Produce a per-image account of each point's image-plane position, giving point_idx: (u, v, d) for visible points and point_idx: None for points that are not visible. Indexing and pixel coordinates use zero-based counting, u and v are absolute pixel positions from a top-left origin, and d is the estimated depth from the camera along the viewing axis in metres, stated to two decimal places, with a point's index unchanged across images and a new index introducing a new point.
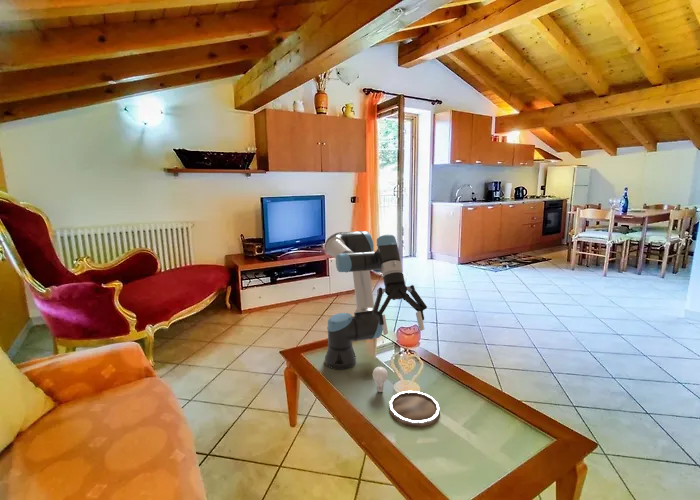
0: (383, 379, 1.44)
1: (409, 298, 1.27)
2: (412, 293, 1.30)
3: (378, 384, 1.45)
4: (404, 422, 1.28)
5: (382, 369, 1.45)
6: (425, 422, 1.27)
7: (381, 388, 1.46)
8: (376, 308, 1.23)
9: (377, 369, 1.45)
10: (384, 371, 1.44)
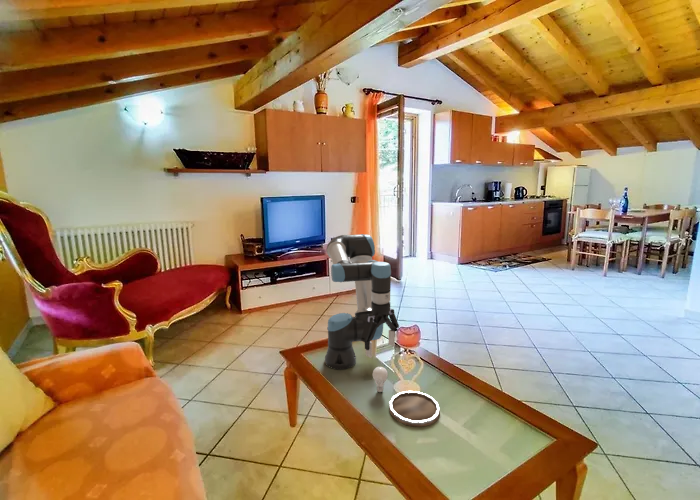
0: (383, 379, 1.44)
1: (389, 322, 1.43)
2: (391, 315, 1.45)
3: (378, 384, 1.45)
4: (404, 422, 1.28)
5: (382, 369, 1.45)
6: (425, 422, 1.27)
7: (381, 388, 1.46)
8: (367, 338, 1.35)
9: (377, 369, 1.45)
10: (384, 371, 1.44)
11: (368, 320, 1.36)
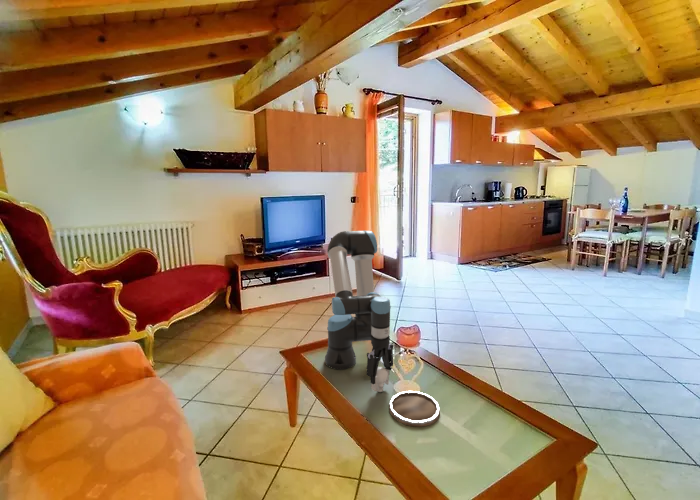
0: (383, 379, 1.44)
1: (386, 357, 1.46)
2: (389, 350, 1.48)
3: (378, 384, 1.45)
4: (404, 422, 1.28)
5: (382, 369, 1.45)
6: (425, 422, 1.27)
7: (381, 388, 1.46)
8: (371, 373, 1.41)
9: (377, 369, 1.45)
10: (384, 371, 1.44)
11: (369, 357, 1.40)
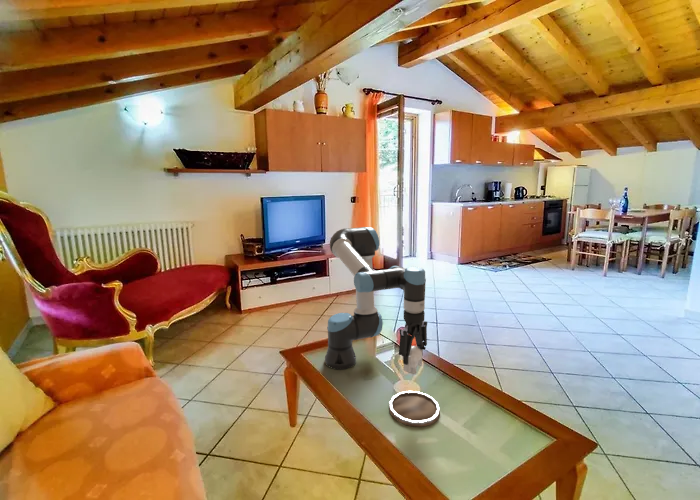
0: (417, 359, 1.29)
1: (420, 335, 1.31)
2: (422, 328, 1.33)
3: (411, 365, 1.31)
4: (404, 422, 1.28)
5: (416, 348, 1.31)
6: (425, 422, 1.27)
7: (414, 369, 1.32)
8: (405, 352, 1.26)
9: None
10: (418, 350, 1.30)
11: (402, 334, 1.26)
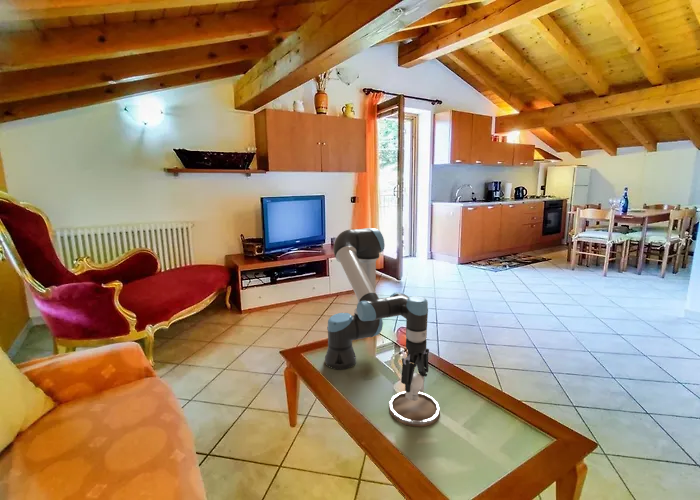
0: (419, 387, 1.31)
1: (422, 363, 1.33)
2: (424, 355, 1.35)
3: (413, 392, 1.33)
4: (404, 422, 1.28)
5: (417, 376, 1.32)
6: (425, 422, 1.27)
7: (416, 396, 1.34)
8: (407, 380, 1.28)
9: None
10: (420, 378, 1.32)
11: (404, 363, 1.27)
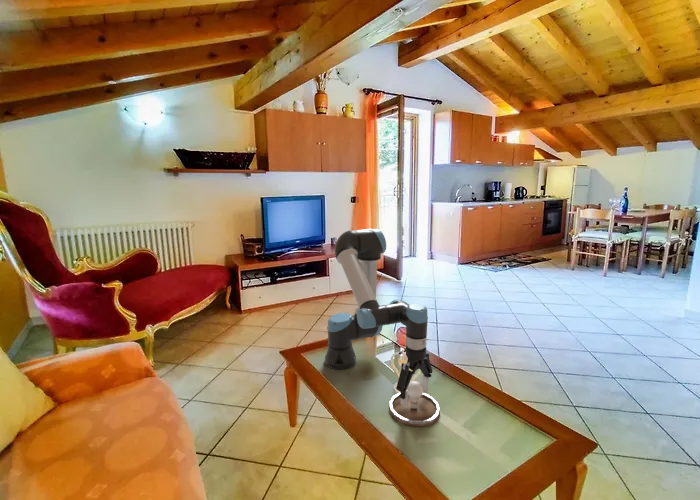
0: (419, 395, 1.32)
1: (424, 367, 1.34)
2: (425, 360, 1.36)
3: (412, 400, 1.34)
4: (404, 422, 1.28)
5: (417, 384, 1.33)
6: (425, 422, 1.27)
7: (415, 404, 1.34)
8: (403, 387, 1.27)
9: (412, 384, 1.33)
10: (420, 386, 1.33)
11: (403, 368, 1.28)
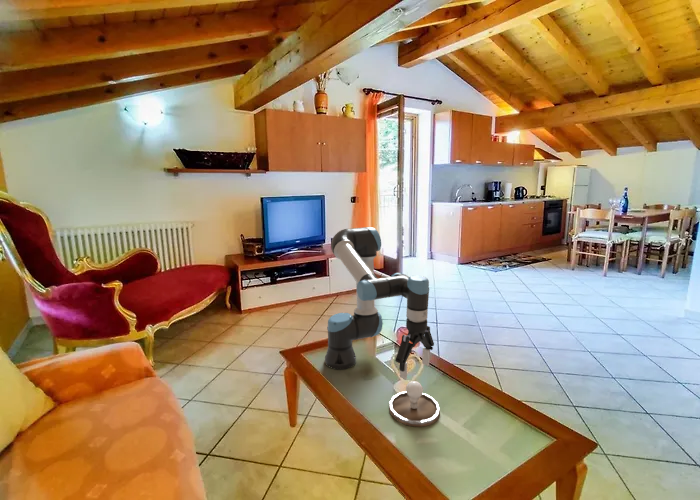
0: (418, 395, 1.32)
1: (425, 340, 1.32)
2: (426, 333, 1.34)
3: (412, 400, 1.34)
4: (404, 422, 1.28)
5: (417, 384, 1.33)
6: (425, 422, 1.27)
7: (415, 404, 1.34)
8: (402, 359, 1.24)
9: (411, 384, 1.33)
10: (419, 386, 1.33)
11: (404, 339, 1.25)
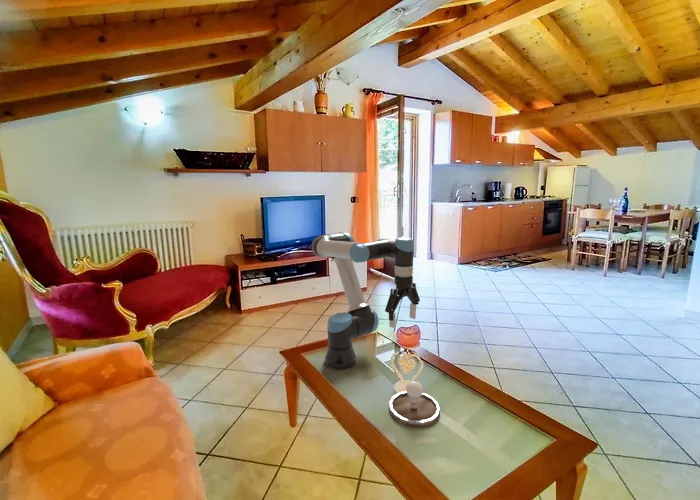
0: (418, 395, 1.32)
1: (411, 295, 1.51)
2: (412, 289, 1.53)
3: (412, 400, 1.34)
4: (404, 422, 1.28)
5: (417, 384, 1.33)
6: (425, 422, 1.27)
7: (415, 404, 1.34)
8: (391, 308, 1.43)
9: (411, 384, 1.33)
10: (419, 386, 1.33)
11: (392, 292, 1.44)
